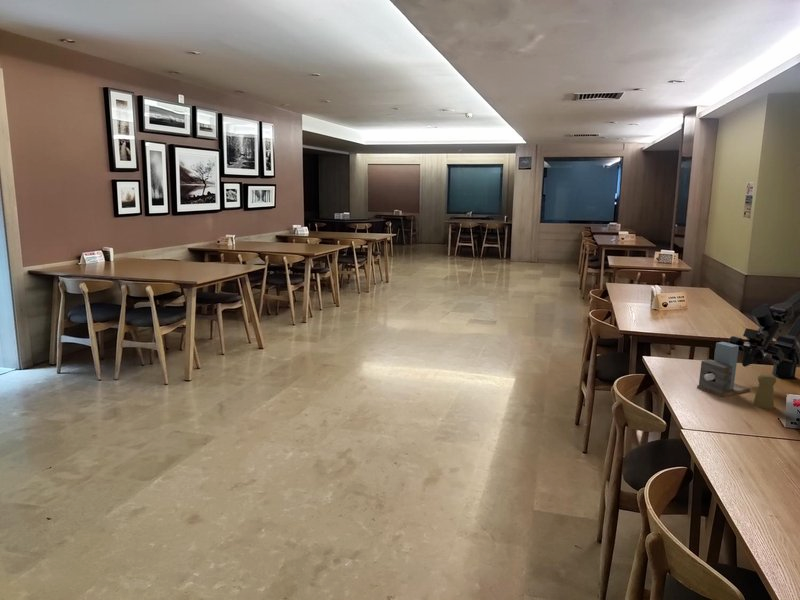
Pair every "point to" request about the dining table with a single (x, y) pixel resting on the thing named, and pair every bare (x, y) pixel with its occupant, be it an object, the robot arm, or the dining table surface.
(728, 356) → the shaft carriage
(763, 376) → the olive flared post
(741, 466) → the dining table surface
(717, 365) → the bearing stand
